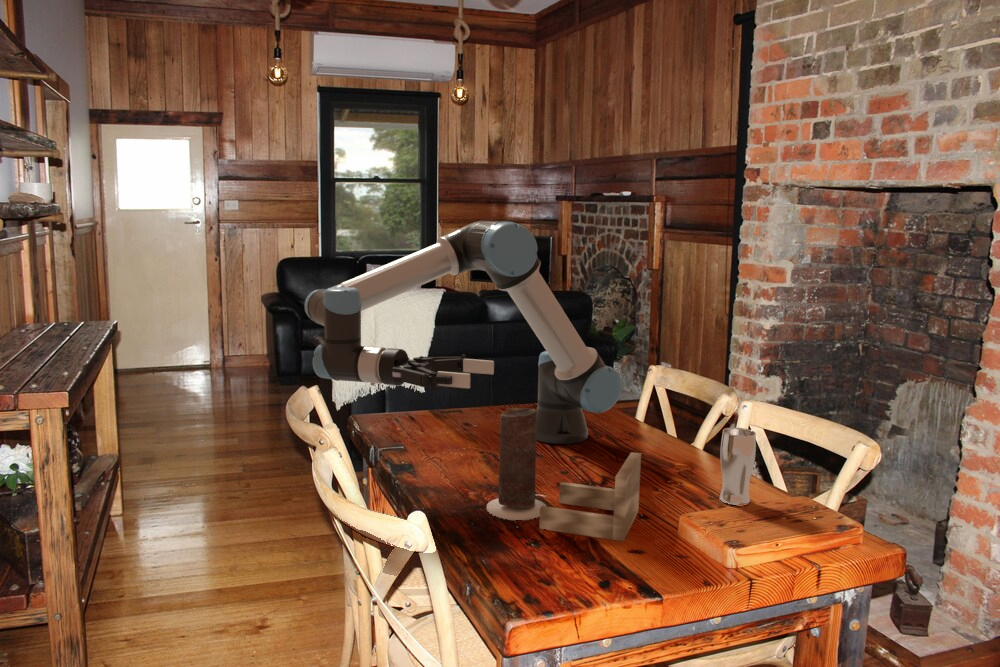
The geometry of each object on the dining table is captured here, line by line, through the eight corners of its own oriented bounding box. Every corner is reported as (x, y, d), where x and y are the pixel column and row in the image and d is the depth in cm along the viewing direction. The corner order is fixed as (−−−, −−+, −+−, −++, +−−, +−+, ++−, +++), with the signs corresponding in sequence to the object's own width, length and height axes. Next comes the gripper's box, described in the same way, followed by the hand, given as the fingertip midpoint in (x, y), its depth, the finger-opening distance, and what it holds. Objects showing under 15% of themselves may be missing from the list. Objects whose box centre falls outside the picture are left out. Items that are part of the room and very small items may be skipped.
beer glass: (711, 501, 173) (715, 431, 170) (727, 493, 178) (731, 425, 175) (742, 510, 168) (747, 438, 166) (757, 501, 173) (762, 431, 171)
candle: (522, 516, 161) (525, 416, 158) (490, 508, 165) (492, 410, 161) (541, 504, 167) (544, 408, 164) (510, 497, 171) (512, 403, 168)
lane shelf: (539, 528, 156) (540, 467, 154) (560, 500, 171) (562, 444, 169) (623, 541, 151) (626, 478, 149) (638, 511, 166) (641, 453, 164)
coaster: (511, 494, 174) (511, 492, 174) (558, 508, 167) (558, 505, 167) (474, 510, 165) (474, 507, 165) (522, 525, 158) (522, 523, 158)
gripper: (410, 372, 183) (502, 380, 176) (355, 397, 160) (458, 407, 153) (410, 338, 182) (502, 345, 175) (355, 358, 159) (458, 367, 152)
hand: (482, 374), depth 164 cm, fingers open, 13 cm apart
